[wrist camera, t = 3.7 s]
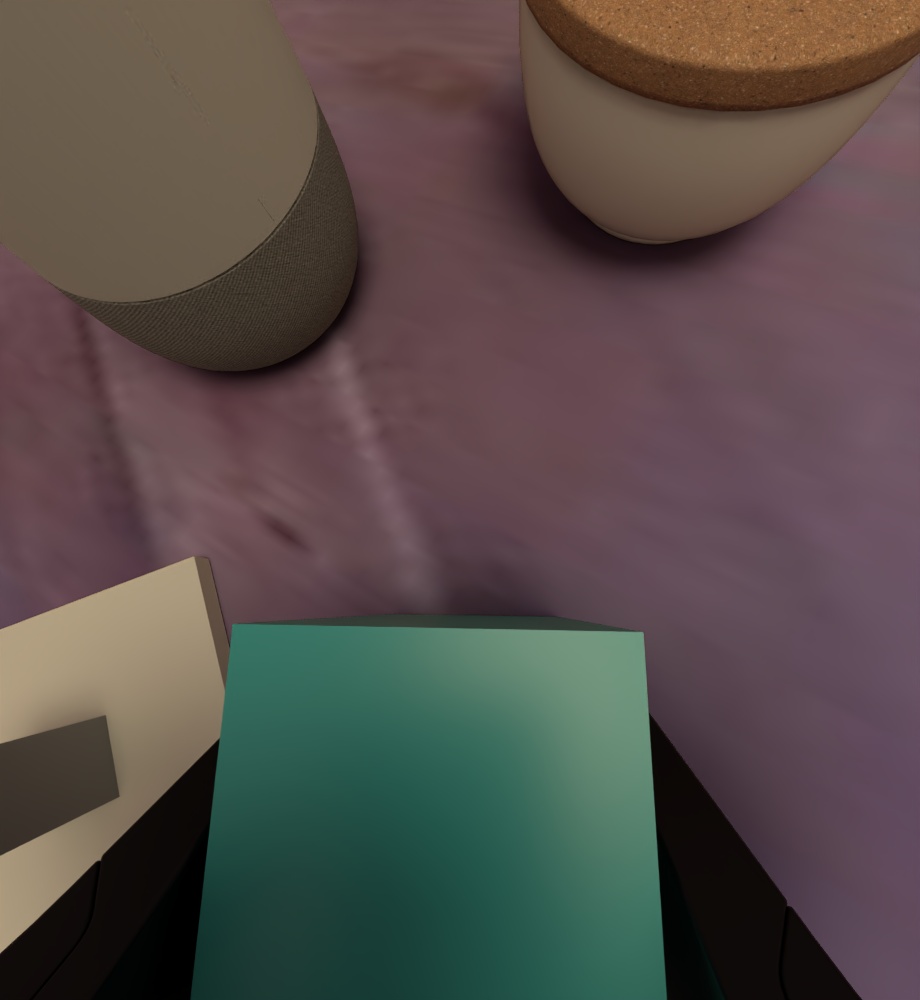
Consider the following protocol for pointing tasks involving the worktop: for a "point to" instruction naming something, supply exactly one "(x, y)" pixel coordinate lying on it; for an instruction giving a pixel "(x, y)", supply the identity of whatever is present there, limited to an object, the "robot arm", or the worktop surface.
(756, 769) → the worktop surface
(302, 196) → the smart speaker
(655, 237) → the lidded jar
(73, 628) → the post block
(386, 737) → the teal square pillar
